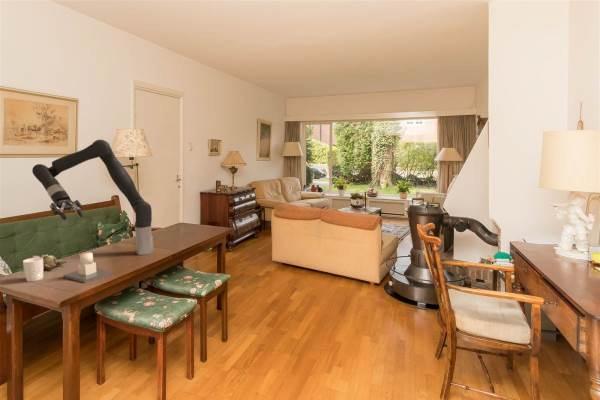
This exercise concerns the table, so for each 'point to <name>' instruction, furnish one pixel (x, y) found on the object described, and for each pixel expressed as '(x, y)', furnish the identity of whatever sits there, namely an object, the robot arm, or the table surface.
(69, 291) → the table surface
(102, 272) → the grey base with post
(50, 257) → the ceramic sculpture
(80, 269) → the knob
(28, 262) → the white cup
